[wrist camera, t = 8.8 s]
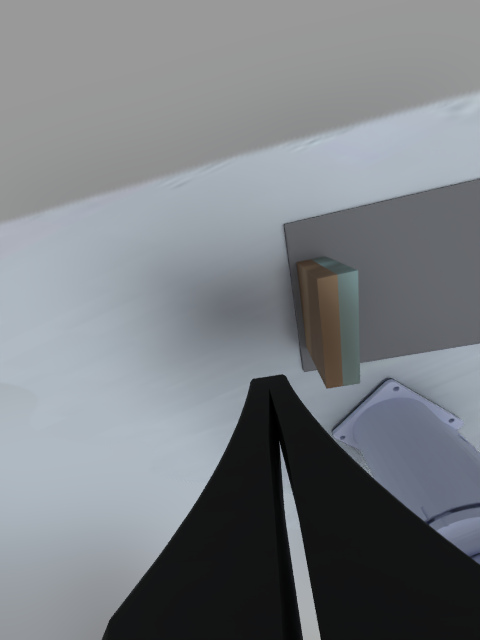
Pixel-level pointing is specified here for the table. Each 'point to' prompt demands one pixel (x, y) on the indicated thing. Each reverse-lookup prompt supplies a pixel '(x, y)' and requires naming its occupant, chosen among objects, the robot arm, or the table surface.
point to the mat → (402, 269)
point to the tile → (331, 319)
